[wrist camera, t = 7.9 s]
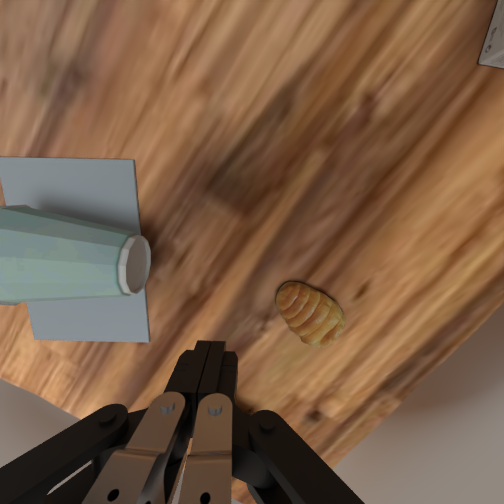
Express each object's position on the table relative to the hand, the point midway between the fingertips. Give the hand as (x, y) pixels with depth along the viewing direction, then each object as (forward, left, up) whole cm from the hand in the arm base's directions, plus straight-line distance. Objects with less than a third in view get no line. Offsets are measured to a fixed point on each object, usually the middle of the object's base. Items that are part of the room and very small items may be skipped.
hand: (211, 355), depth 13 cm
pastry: (+7, +10, -20) cm, 23 cm away
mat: (0, -20, -19) cm, 28 cm away
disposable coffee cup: (0, -10, -14) cm, 17 cm away
